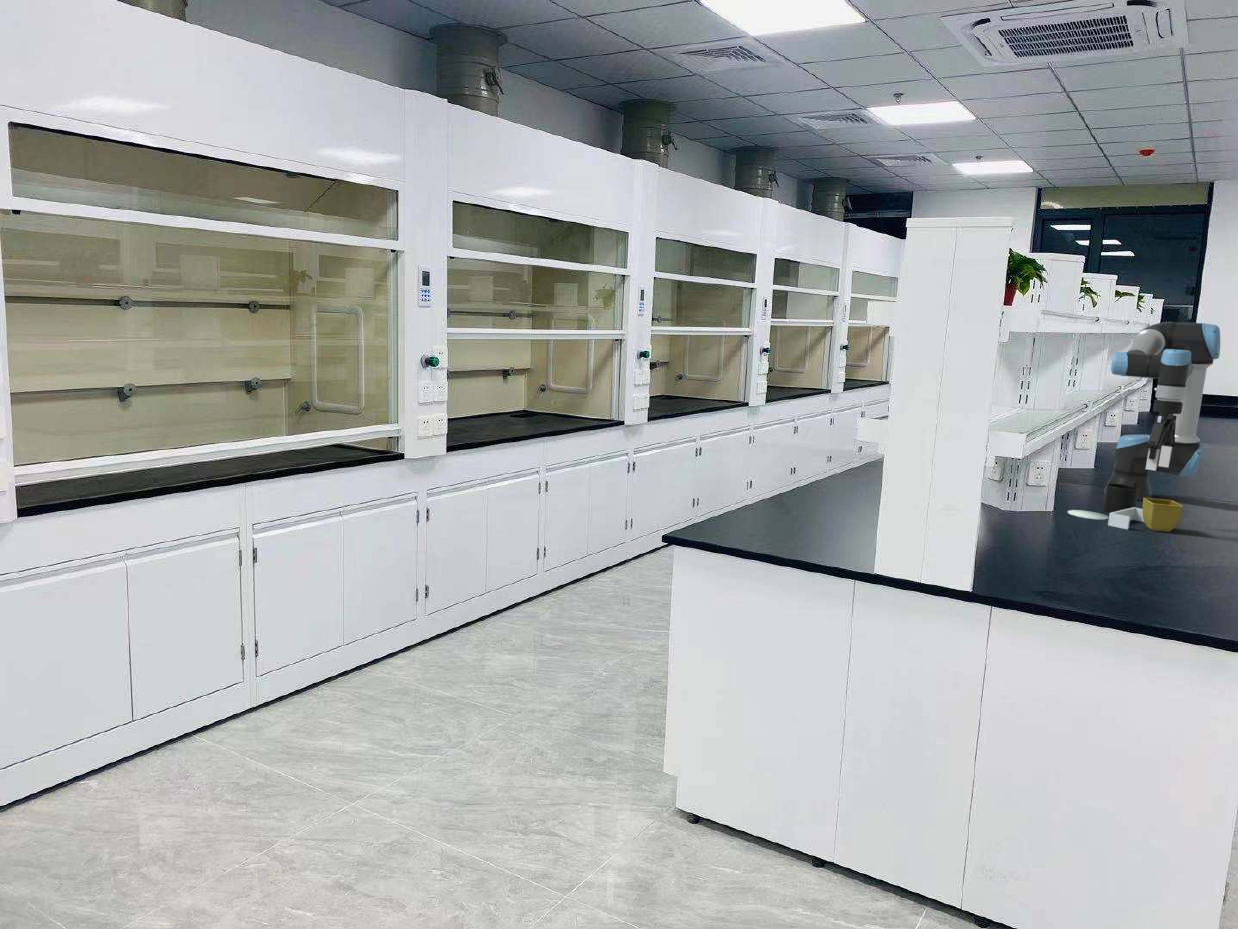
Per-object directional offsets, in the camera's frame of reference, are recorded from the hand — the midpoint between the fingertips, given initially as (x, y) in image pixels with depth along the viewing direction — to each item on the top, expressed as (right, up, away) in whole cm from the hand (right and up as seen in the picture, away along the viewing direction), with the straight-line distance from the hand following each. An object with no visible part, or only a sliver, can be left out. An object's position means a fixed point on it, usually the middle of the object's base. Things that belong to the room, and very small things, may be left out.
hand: (1157, 468), depth 276 cm
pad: (-13, -15, +17) cm, 26 cm away
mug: (+3, -15, +25) cm, 30 cm away
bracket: (-5, -18, +7) cm, 20 cm away
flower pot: (+1, -19, +2) cm, 19 cm away
